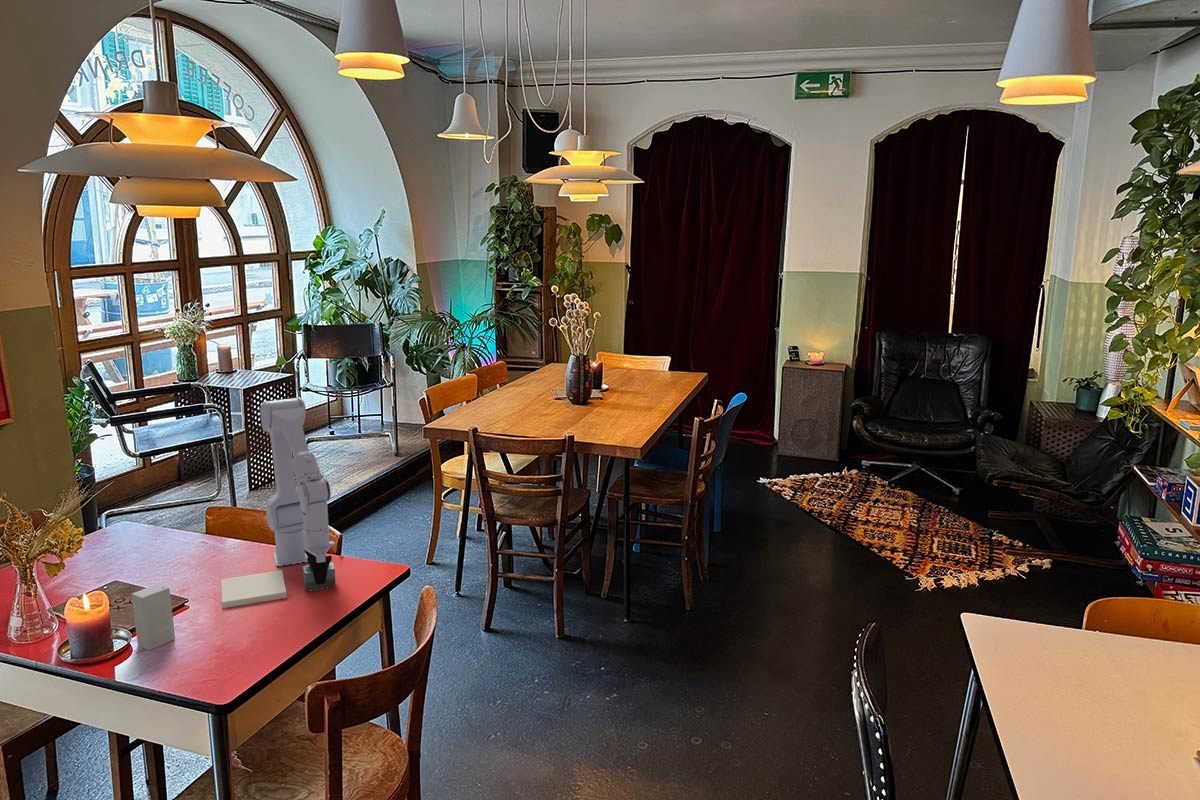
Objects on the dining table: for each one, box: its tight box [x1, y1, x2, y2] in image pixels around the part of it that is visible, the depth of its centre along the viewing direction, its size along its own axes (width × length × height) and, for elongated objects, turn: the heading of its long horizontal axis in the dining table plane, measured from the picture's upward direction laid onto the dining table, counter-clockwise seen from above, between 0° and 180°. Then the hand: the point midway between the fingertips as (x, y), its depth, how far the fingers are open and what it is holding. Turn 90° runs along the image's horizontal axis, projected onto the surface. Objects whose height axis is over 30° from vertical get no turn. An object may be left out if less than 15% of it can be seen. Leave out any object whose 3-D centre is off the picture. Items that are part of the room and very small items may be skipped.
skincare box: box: [130, 583, 176, 652], centre depth 172 cm, size 6×4×12 cm
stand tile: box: [220, 569, 288, 609], centre depth 198 cm, size 14×14×2 cm
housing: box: [302, 561, 337, 592], centre depth 201 cm, size 5×7×5 cm, turn 115°
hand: (319, 579), depth 202 cm, fingers closed on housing, 5 cm apart
